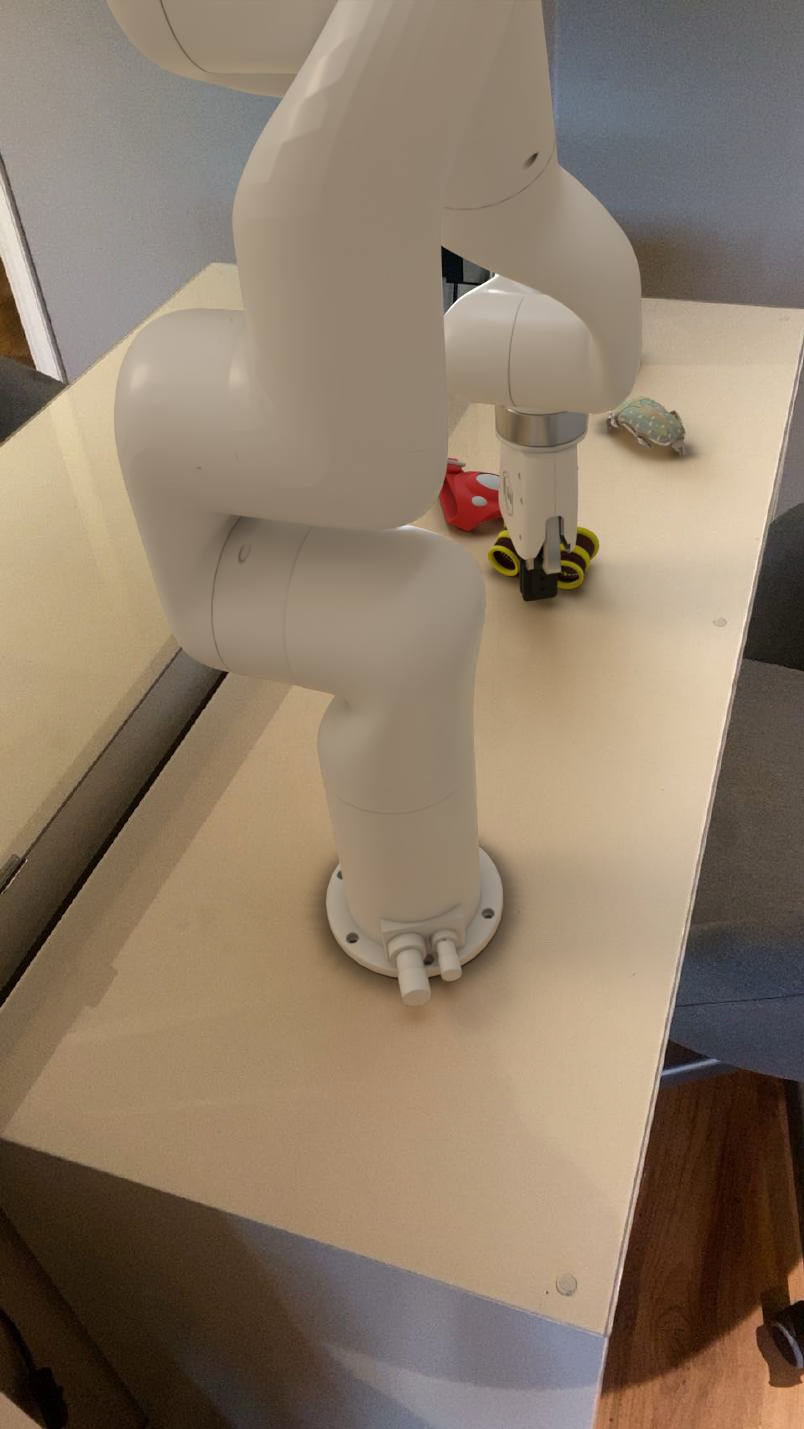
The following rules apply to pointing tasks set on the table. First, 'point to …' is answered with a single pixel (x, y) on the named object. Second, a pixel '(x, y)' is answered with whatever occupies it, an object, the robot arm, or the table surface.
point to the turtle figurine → (649, 423)
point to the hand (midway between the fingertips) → (538, 594)
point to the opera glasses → (571, 563)
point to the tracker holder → (469, 496)
